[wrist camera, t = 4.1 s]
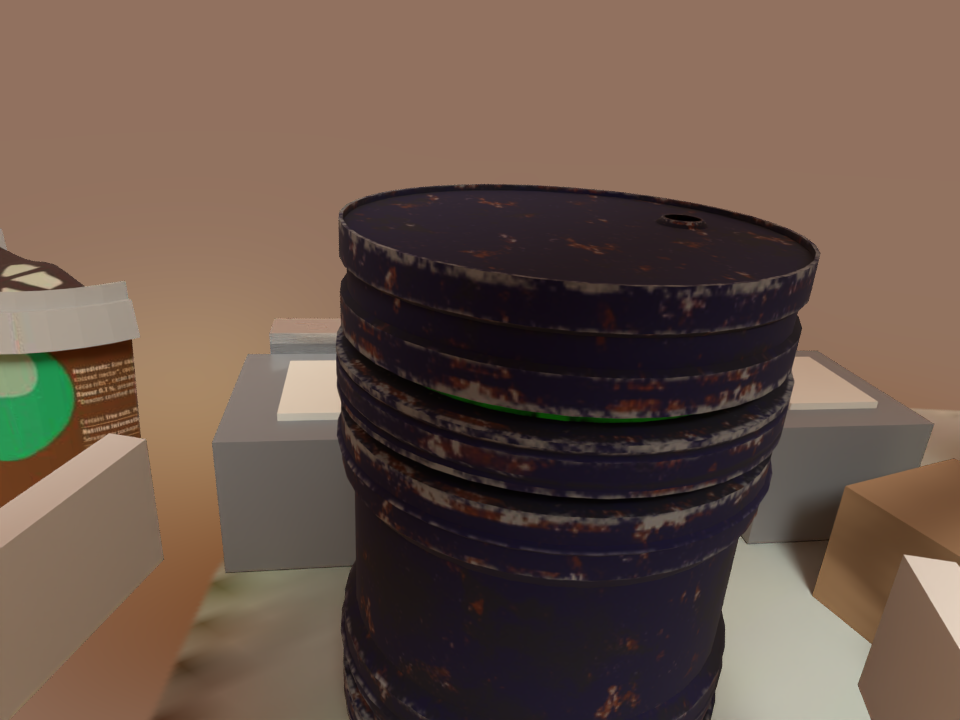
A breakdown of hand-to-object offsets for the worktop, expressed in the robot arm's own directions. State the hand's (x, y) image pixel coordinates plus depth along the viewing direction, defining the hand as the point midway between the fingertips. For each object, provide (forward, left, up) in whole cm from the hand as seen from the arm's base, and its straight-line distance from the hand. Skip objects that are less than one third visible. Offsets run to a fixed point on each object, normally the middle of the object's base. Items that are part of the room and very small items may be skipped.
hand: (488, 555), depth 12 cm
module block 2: (+16, -17, -10) cm, 26 cm away
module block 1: (+16, +3, -10) cm, 19 cm away
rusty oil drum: (+4, -2, -10) cm, 11 cm away
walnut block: (+7, -18, -10) cm, 22 cm away
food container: (+18, +17, -10) cm, 27 cm away
